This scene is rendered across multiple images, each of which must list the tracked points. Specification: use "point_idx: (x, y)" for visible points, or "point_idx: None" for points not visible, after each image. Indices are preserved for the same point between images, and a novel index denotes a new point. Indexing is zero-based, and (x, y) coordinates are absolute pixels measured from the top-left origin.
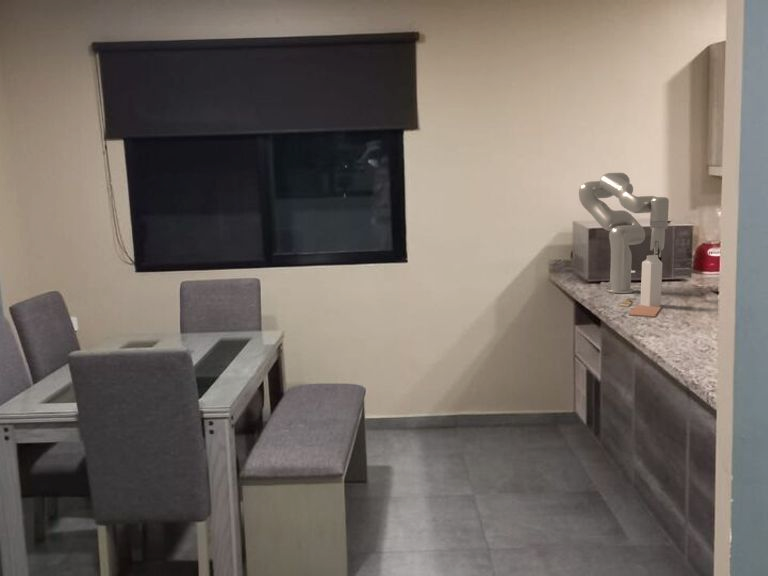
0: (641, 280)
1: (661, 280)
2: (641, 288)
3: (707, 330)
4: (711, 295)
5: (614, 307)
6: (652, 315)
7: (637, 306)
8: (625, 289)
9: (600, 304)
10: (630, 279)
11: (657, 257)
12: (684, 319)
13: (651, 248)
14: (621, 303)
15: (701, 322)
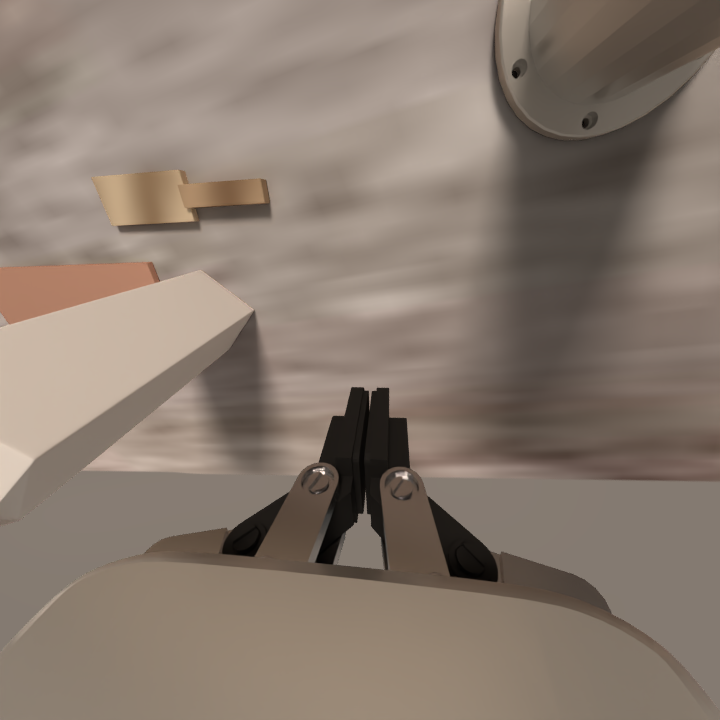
0: (87, 303)
1: (145, 415)
2: (135, 291)
3: None
4: (522, 478)
5: (57, 157)
6: None
7: (126, 272)
8: (543, 69)
9: (57, 30)
10: (653, 65)
11: None
12: None
13: (36, 627)
14: (135, 175)
15: None
